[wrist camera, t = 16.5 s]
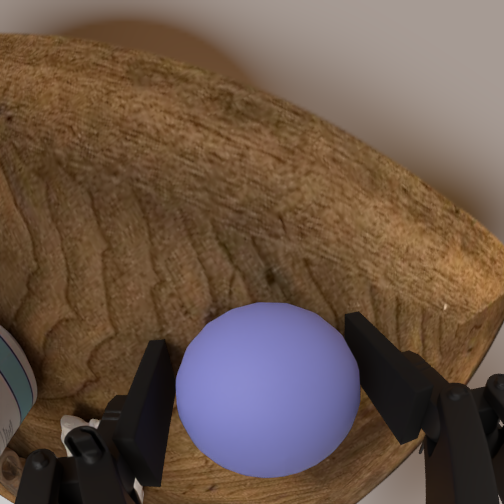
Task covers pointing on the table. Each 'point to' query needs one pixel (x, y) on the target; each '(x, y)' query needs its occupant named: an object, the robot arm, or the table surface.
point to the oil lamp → (11, 470)
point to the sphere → (268, 389)
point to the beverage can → (14, 387)
